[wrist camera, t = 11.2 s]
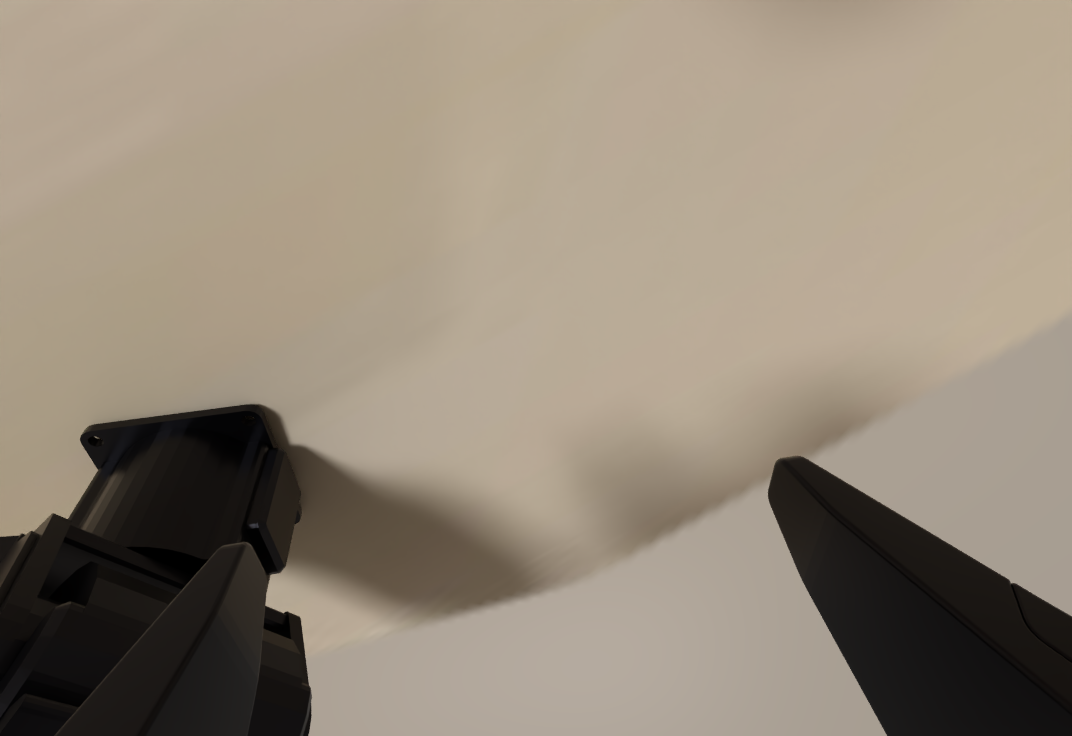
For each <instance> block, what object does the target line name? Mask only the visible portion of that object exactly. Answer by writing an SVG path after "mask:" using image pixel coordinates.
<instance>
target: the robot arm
mask: <svg viewBox="0 0 1072 736" xmlns="http://www.w3.org/2000/svg"><path fill="white" fill-rule="evenodd" d="M245 416H251V417H254V420H249V419H247V418H246V417H245ZM94 436H97V437H99V438H101V439H102V440H99V439H97V438H95V437H94ZM80 441H81V444H82V445H83V447H84V448H85V450H86V452H87V453H88V455H89V456H90V458H91V459H92V461H93V463H94V464H95V466H96V467H97V469H98V472H97V473H96V475H95V476H94V478H93V480H92V481H91V483H90V484H89V486H88V488H87V489H86V491H85V492H84V494H83V496H82V497H81V499H80V501H79V502H78V504H77V505H76V507H75V509H74V510H73V512H72V513H71V515H70V517H69V518H68V519H66V518H63V517H61V516H58V515H56V514H54V513H53V514H51V515H50V516H49V517H48V518H47V519H46V520H45V521H44V522H43V523H42V524H41V525H40V526H39V527H38V528H37V529H36V530H35V531H34V532H33V531H30V532H29V533H28V534H26V535H25V534H20V535H19V536H7V537H0V736H308V734H309V729H310V722H311V699H312V695H311V688H310V686H309V683H308V674H307V666H306V658H305V650H304V642H303V634H302V626H301V618H300V617H299V616H296V615H294V614H292V613H289V612H285V613H282V612H279V611H277V610H275V609H272V608H270V607H267V606H265V602H266V592H267V588H268V584H269V580H270V575H271V574H277V573H281V571H282V570H283V569H284V568H285V566H286V562H287V558H288V553H289V548H290V543H291V539H292V534H293V529H294V524H296V523H298V522H299V521H300V518H301V513H302V509H301V506H300V504H299V501H300V496H301V491H300V488H299V486H298V483H297V481H296V478H295V475H294V473H293V470H292V467H291V465H290V462H289V459H288V457H287V454H286V452H285V451H284V450H283V449H281V448H278V447H277V444H276V442H275V439H274V437H273V434H272V431H271V429H270V426H269V424H268V421H267V418H266V416H265V413H264V412H263V410H262V409H261V408H259V407H258V406H255V405H240V406H232V407H224V408H217V409H209V410H201V411H194V412H186V413H178V414H171V415H163V416H155V417H148V418H140V419H132V420H125V421H117V422H109V423H102V424H94V425H91V426H89V427H87V428H86V429H85V431H84V432H83V434H82V435H81V438H80ZM768 499H769V502H770V505H771V508H772V510H773V513H774V515H775V517H776V520H777V522H778V524H779V527H780V529H781V532H782V534H783V536H784V538H785V541H786V544H787V546H788V548H789V550H790V553H791V555H792V558H793V560H794V563H795V565H796V567H797V570H798V572H799V574H800V576H801V578H802V581H803V583H804V585H805V587H806V588H807V590H808V592H809V594H810V596H811V598H812V599H813V602H814V603H815V605H816V607H817V609H818V611H819V612H820V614H821V616H822V618H823V620H824V622H825V623H826V625H827V627H828V629H829V631H830V632H831V634H832V636H833V638H834V640H835V642H836V643H837V645H838V647H839V649H840V651H841V653H842V654H843V656H844V658H845V660H846V662H847V663H848V665H849V667H850V669H851V671H852V673H853V674H854V676H855V678H856V679H857V681H858V683H859V685H860V687H861V689H862V691H863V693H864V694H865V696H866V698H867V700H868V702H869V703H870V705H871V707H872V709H873V711H874V713H875V714H876V716H877V718H878V720H879V721H880V723H881V725H882V727H883V729H884V731H885V733H886V734H887V736H1072V616H1070V615H1068V614H1067V613H1065V612H1063V611H1061V610H1060V609H1058V608H1056V607H1054V606H1053V605H1051V604H1049V603H1048V602H1046V601H1044V600H1042V599H1041V598H1039V597H1037V596H1036V595H1034V594H1032V593H1031V592H1029V591H1027V590H1026V589H1024V588H1022V587H1021V586H1019V585H1017V584H1015V583H1010V581H1009V580H1008V579H1007V578H1005V577H1003V576H1001V575H1000V574H998V573H997V572H995V571H993V570H992V569H990V568H988V567H987V566H985V565H983V564H982V563H980V562H978V561H977V560H975V559H973V558H972V557H970V556H968V555H967V554H965V553H963V552H962V551H960V550H958V549H957V548H955V547H953V546H952V545H950V544H948V543H946V542H945V541H943V540H941V539H940V538H938V537H936V536H935V535H933V534H931V533H930V532H928V531H926V530H925V529H923V528H921V527H920V526H918V525H916V524H915V523H913V522H911V521H910V520H908V519H906V518H905V517H903V516H901V515H900V514H898V513H896V512H895V511H893V510H891V509H890V508H888V507H886V506H885V505H883V504H881V503H880V502H877V501H876V500H875V499H873V498H871V497H870V496H868V495H866V494H865V493H863V492H861V491H859V490H858V489H856V488H854V487H853V486H851V485H849V484H848V483H846V482H844V481H843V480H841V479H839V478H838V477H836V476H834V475H833V474H831V473H829V472H828V471H826V470H824V469H823V468H821V467H819V466H818V465H816V464H814V463H813V462H811V461H809V460H808V459H806V458H804V457H801V456H792V457H786V458H780V459H778V460H777V461H776V463H775V466H774V470H773V473H772V477H771V481H770V485H769V489H768Z"/></svg>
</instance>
